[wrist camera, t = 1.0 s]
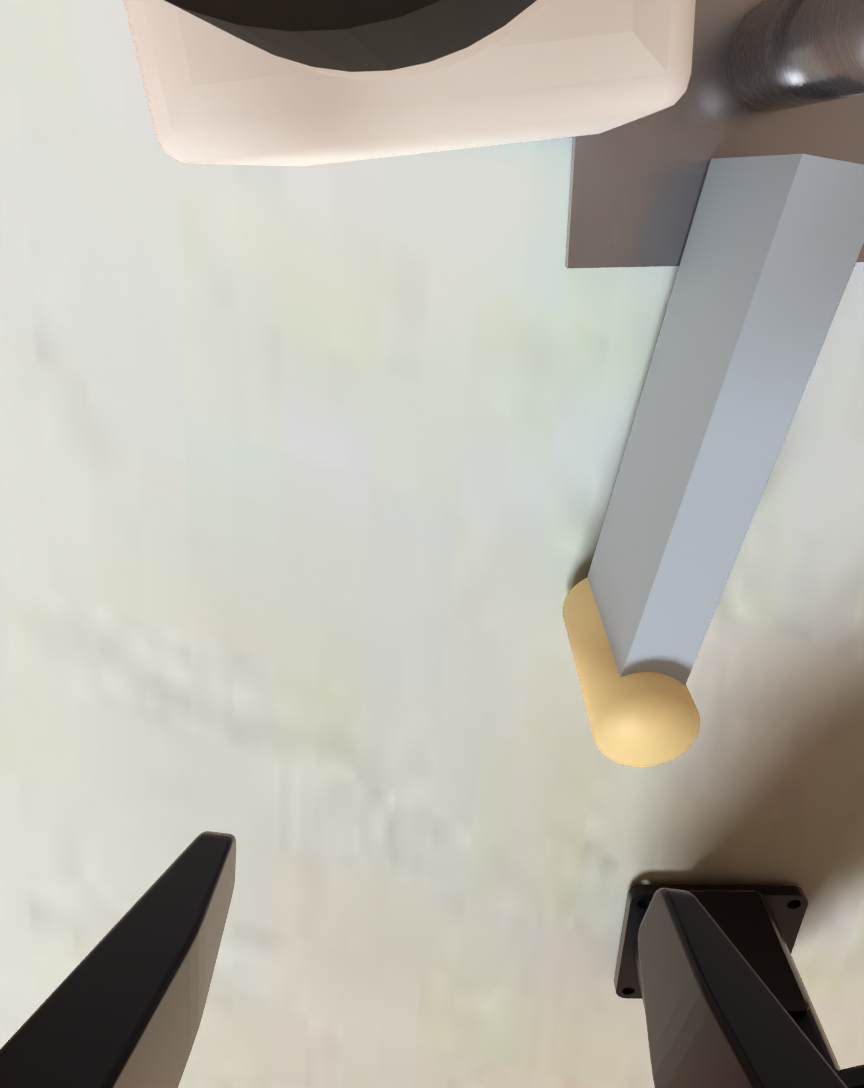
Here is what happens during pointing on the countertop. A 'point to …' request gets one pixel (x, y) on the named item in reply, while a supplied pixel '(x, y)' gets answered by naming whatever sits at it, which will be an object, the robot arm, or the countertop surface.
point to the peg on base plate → (720, 125)
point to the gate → (708, 436)
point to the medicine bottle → (400, 73)
